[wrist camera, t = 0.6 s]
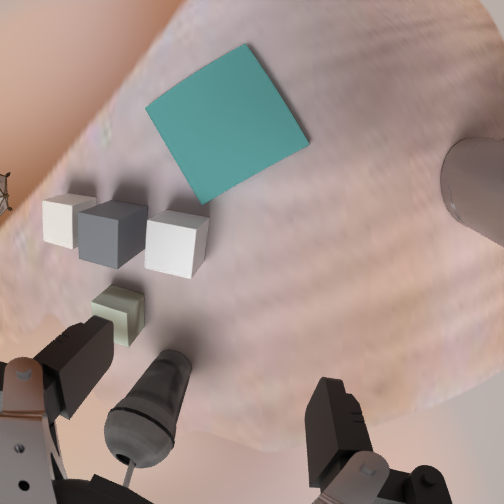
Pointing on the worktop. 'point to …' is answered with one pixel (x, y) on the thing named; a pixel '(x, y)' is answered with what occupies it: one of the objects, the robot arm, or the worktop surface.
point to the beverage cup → (149, 414)
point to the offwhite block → (64, 218)
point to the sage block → (121, 312)
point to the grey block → (176, 243)
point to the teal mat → (225, 124)
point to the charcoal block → (112, 233)
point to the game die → (4, 194)
